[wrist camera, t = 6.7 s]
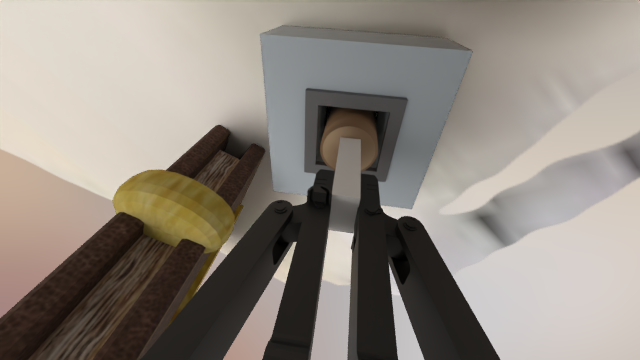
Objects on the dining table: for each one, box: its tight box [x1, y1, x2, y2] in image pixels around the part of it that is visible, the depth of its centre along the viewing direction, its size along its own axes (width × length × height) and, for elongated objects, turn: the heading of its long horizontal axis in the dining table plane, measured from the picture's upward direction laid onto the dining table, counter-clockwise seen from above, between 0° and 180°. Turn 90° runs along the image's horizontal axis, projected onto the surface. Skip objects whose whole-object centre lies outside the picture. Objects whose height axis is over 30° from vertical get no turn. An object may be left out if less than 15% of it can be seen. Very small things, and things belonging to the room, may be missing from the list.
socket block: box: [260, 25, 473, 209], centre depth 23 cm, size 14×14×7 cm
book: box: [0, 125, 265, 360], centre depth 24 cm, size 22×8×25 cm, turn 151°
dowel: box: [320, 107, 378, 172], centre depth 21 cm, size 4×4×7 cm
